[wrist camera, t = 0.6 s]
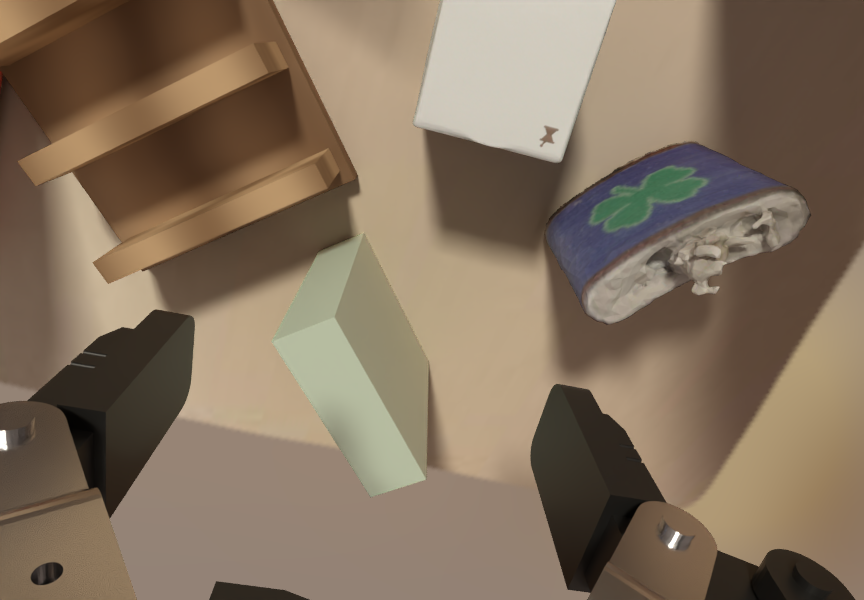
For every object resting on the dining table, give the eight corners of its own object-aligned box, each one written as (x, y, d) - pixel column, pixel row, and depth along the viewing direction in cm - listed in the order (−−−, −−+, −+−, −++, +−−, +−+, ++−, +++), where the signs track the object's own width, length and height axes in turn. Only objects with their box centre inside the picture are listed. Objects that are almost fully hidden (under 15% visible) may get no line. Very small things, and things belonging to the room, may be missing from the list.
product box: (576, 5, 26) (624, -4, 19) (533, 136, 28) (563, 169, 22) (447, -33, 25) (451, -55, 18) (416, 105, 28) (410, 129, 21)
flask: (555, 257, 31) (609, 359, 21) (532, 213, 30) (578, 299, 20) (716, 174, 29) (856, 244, 19) (697, 123, 28) (836, 172, 18)
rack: (222, -103, 24) (179, -131, 20) (357, 174, 29) (344, 198, 25) (-14, 28, 26) (-95, 28, 22) (151, 264, 31) (108, 299, 27)
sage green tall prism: (364, 232, 31) (334, 317, 22) (428, 361, 34) (426, 479, 25) (319, 251, 31) (271, 341, 22) (387, 375, 35) (370, 497, 26)
